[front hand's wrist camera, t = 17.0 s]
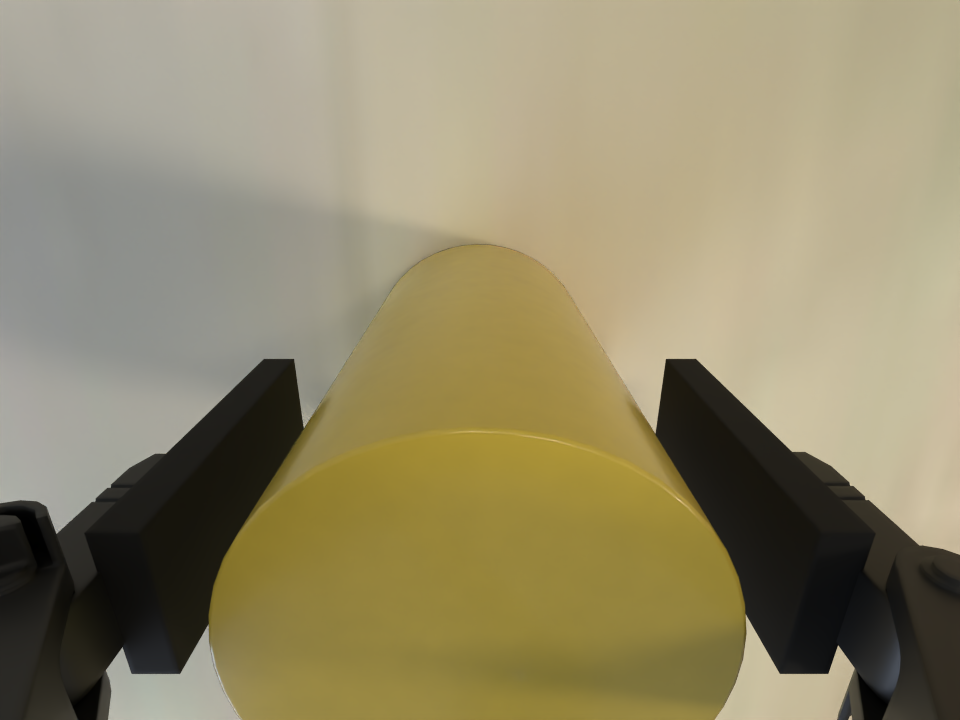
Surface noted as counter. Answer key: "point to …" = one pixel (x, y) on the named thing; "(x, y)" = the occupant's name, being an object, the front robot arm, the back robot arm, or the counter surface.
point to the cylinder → (477, 529)
